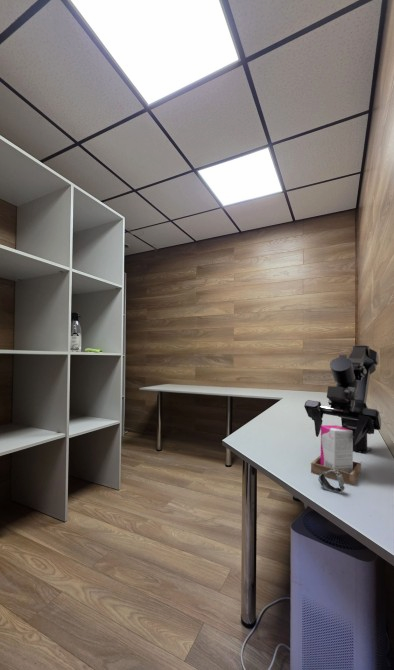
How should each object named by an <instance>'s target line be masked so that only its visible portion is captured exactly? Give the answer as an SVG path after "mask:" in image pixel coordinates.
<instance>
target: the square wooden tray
mask: <svg viewBox="0 0 394 670" xmlns="http://www.w3.org/2000/svg"><path fill="white" fill-rule="evenodd" d="M333 469H334V468H330V467H327V466H323V465H321V454H320V455H319V456H317V458H316V459H314V460H312V462H310V473H311V474H314V475H317V476H319V475H320V474H321V473H322V472H324V471H329V470H333ZM335 470H337V469H335ZM338 471H339V472H340V474H341V475H342V477H343V480H344V484H347V485H349V486H353V485H354V484H355V483H356V481H357V479H358V478H359V476H361V474H362V463H361V462H356V461H353V470H352V472H351V473H347V472H344V471H340V470H338ZM324 477H325V478H326V479H327V478H328V479H331V480H334V481H337V482H338V479H337V477H336V476H335V474H334V472H329V473H327V474H324Z"/></svg>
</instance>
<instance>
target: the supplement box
mask: <svg viewBox="0 0 394 670" xmlns="http://www.w3.org/2000/svg"><path fill="white" fill-rule="evenodd" d="M353 451H354V450H353V431H352V430H349V429H346V428H344V427H342V425H341V426H340V425H336V424H335V425H333V424H332V425H323V424H322V425H321V430H320V455H321V465H323V466H327V467H330V468H334V469H337V470H340V471H344V472H347V473H351V472H352V470H353V462H354V459H353V458H354V456H353V455H354V453H353Z"/></svg>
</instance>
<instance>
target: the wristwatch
mask: <svg viewBox="0 0 394 670" xmlns="http://www.w3.org/2000/svg"><path fill="white" fill-rule="evenodd" d="M329 472H334V474H335V476H336V477H337V479H338V481H337V482H338V487H334V486H333V485H331V484H330V482H329V481H328V479H327V477H324V474H327V473H329ZM317 481H318V482H319V484H320V485H321V486H322V488H323V490H327V491H328V492H332V493H334V492H336V493H339V494H341V493H342V492H344V491H345V489H346V487H345V486H344V485H345V483H344V480H343V477H342V475H341V474H340V472H339V471H338V470H335V469H333V470H329V471H324V472H322V473H321V474H320V475H318V478H317Z"/></svg>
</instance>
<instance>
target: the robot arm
mask: <svg viewBox="0 0 394 670" xmlns="http://www.w3.org/2000/svg"><path fill="white" fill-rule="evenodd" d="M379 362H380V359H379V354H378V352H377V351H376V350H374V349H371V348H370V346H369V345H364V344H361V345H360V344H359V345H357V344H355V345H353V346H352V351H351V352H350V354H349V356H347V355H346V354H343V355H342V354H340V355H339V356H338V357H336V358H334V359H332V360H331V361H330V362H329V367H330V371H331V374H332V377H333V380H334V382H335V383H336V385H335V386H333V385H332V386H331V385H328V386H327V392H326V399H328V402H327V403H328V406H322V403H321V401H320V400H319V401H317V400H310V399H308V400H306V401H305V403H304V407H303V408H304V409H305V412H306V414H307V416H308V418H310V419H311V420H312V421H313V422H314V430H315V437H320V436H319V435H320V434H321V425H323V422H324V421H323V418H324V415H328V416H334V417H338V418H341V419H340V420H341V427H344V428H346V429H349V430H352V431H353V451H354V452H358V453H361V454H366V453H368V452H370V451H372V448H371V447H369V446H368V435H374V434H375V431H380V430H381V429H382V428H381V427H382V420H381V415H380V411H379V410H378V409H375V408H369V407H368V405H367V400H368V393H369V384H370V377H371V374H373V373H374V372H376V370H377V366H378V365H379ZM329 406H330V407H329Z"/></svg>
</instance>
